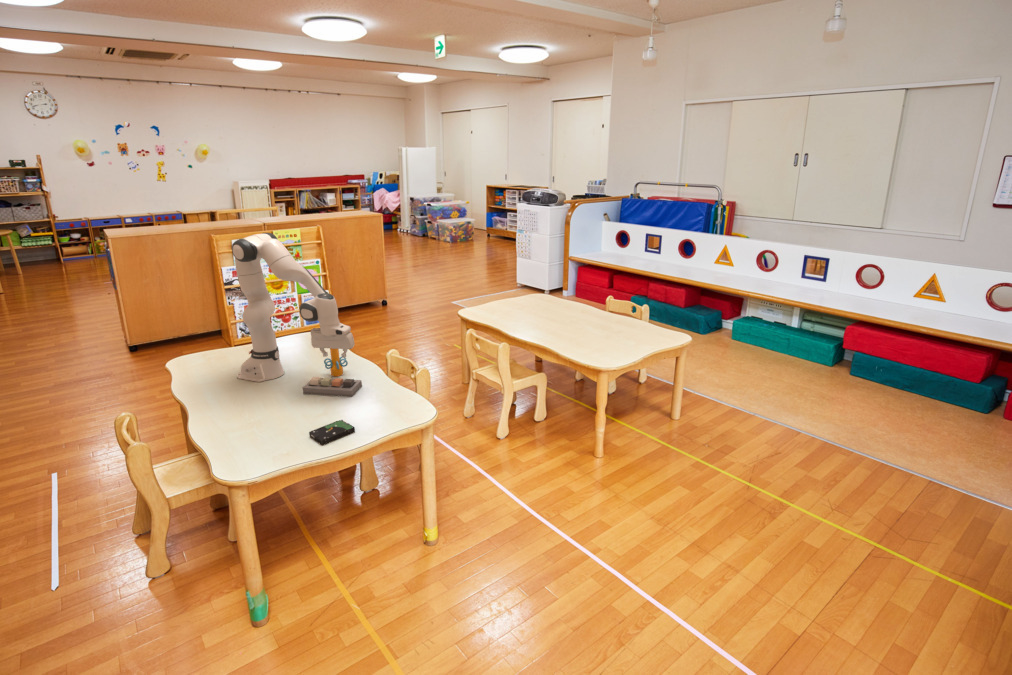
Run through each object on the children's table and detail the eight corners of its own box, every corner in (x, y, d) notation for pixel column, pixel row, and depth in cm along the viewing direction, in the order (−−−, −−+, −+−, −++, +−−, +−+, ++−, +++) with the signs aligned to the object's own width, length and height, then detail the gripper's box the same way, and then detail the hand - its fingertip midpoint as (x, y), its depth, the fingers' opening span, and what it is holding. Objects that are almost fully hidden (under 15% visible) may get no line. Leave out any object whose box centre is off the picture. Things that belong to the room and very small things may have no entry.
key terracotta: (332, 386, 261) (331, 381, 260) (335, 382, 264) (335, 378, 263) (340, 386, 260) (339, 381, 259) (343, 383, 264) (342, 378, 263)
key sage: (321, 385, 262) (320, 380, 261) (324, 382, 265) (324, 377, 264) (328, 385, 261) (328, 381, 260) (332, 382, 265) (331, 377, 264)
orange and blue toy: (352, 370, 286) (349, 343, 280) (345, 379, 276) (341, 350, 271) (329, 369, 287) (326, 342, 282) (321, 378, 277) (317, 350, 272)
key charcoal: (343, 386, 260) (342, 382, 259) (346, 383, 264) (346, 378, 263) (351, 387, 259) (350, 382, 259) (354, 383, 263) (353, 379, 262)
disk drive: (322, 447, 216) (355, 432, 226) (321, 440, 215) (355, 426, 225) (309, 438, 223) (341, 424, 233) (308, 431, 222) (341, 418, 232)
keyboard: (303, 393, 260) (302, 387, 259) (315, 383, 271) (314, 377, 270) (352, 397, 256) (351, 390, 255) (362, 386, 268) (361, 380, 267)
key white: (310, 384, 262) (309, 380, 261) (314, 381, 266) (313, 376, 265) (317, 385, 262) (317, 380, 261) (321, 381, 265) (320, 377, 264)
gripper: (306, 330, 253) (311, 358, 258) (347, 331, 249) (351, 360, 253) (313, 325, 259) (318, 353, 264) (353, 327, 254) (357, 355, 259)
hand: (334, 356), depth 258 cm, fingers open, 8 cm apart
